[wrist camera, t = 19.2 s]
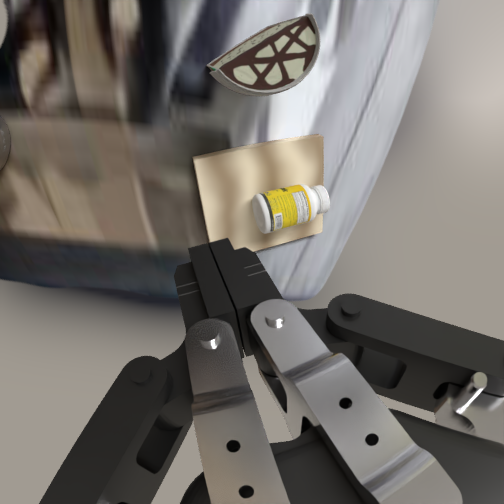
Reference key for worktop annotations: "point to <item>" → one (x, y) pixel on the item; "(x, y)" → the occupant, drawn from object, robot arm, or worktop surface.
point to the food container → (270, 58)
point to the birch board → (256, 187)
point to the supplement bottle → (289, 206)
